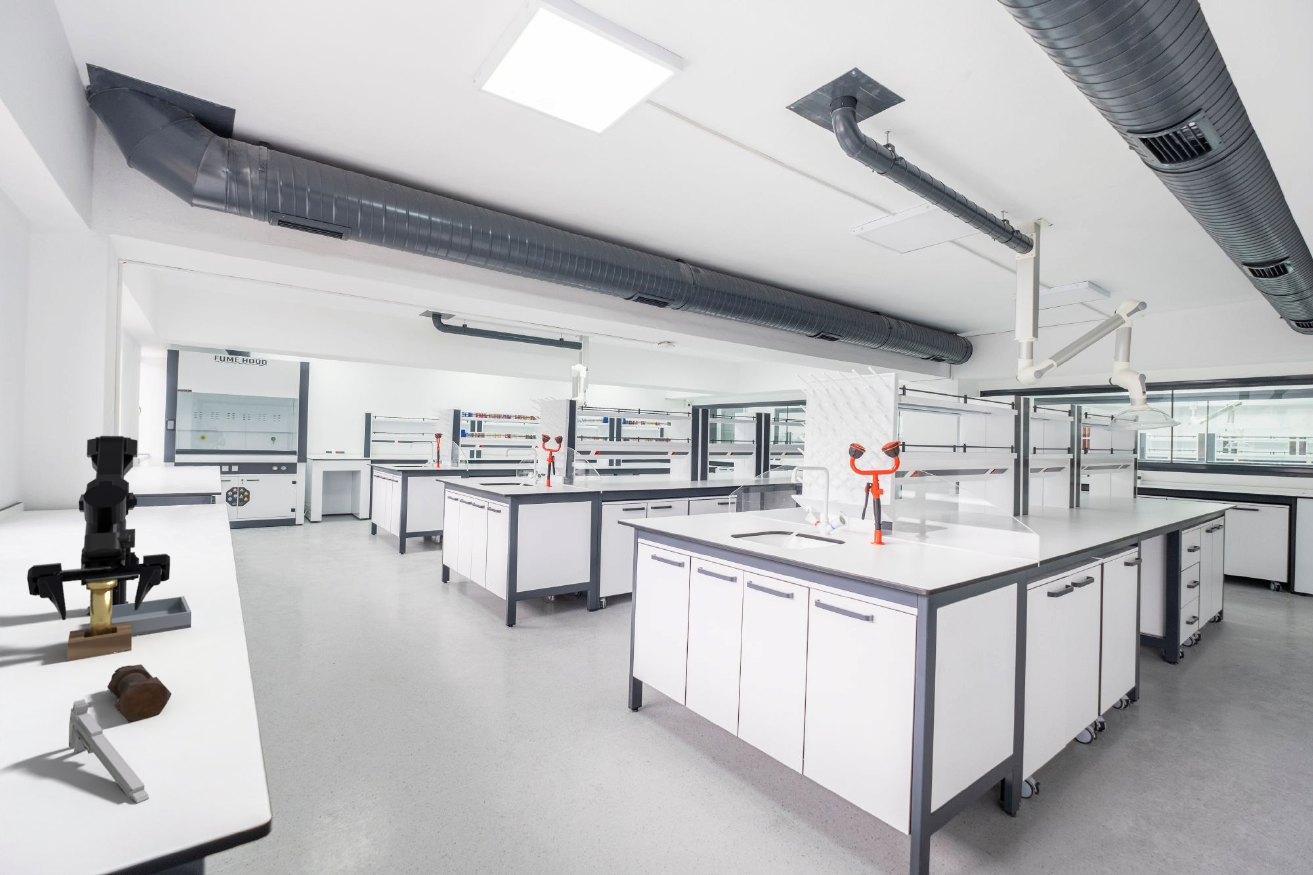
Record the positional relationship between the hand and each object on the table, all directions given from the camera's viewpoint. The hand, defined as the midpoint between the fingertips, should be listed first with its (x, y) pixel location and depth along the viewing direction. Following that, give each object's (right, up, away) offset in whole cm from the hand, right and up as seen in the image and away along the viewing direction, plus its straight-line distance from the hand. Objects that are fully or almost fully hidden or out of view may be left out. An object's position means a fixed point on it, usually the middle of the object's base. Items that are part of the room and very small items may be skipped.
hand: (100, 613), depth 103 cm
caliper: (+34, -8, -36) cm, 50 cm away
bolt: (+23, -7, -19) cm, 30 cm away
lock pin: (-1, -7, +1) cm, 7 cm away
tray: (-5, -6, +15) cm, 17 cm away
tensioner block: (-1, -7, +1) cm, 7 cm away
